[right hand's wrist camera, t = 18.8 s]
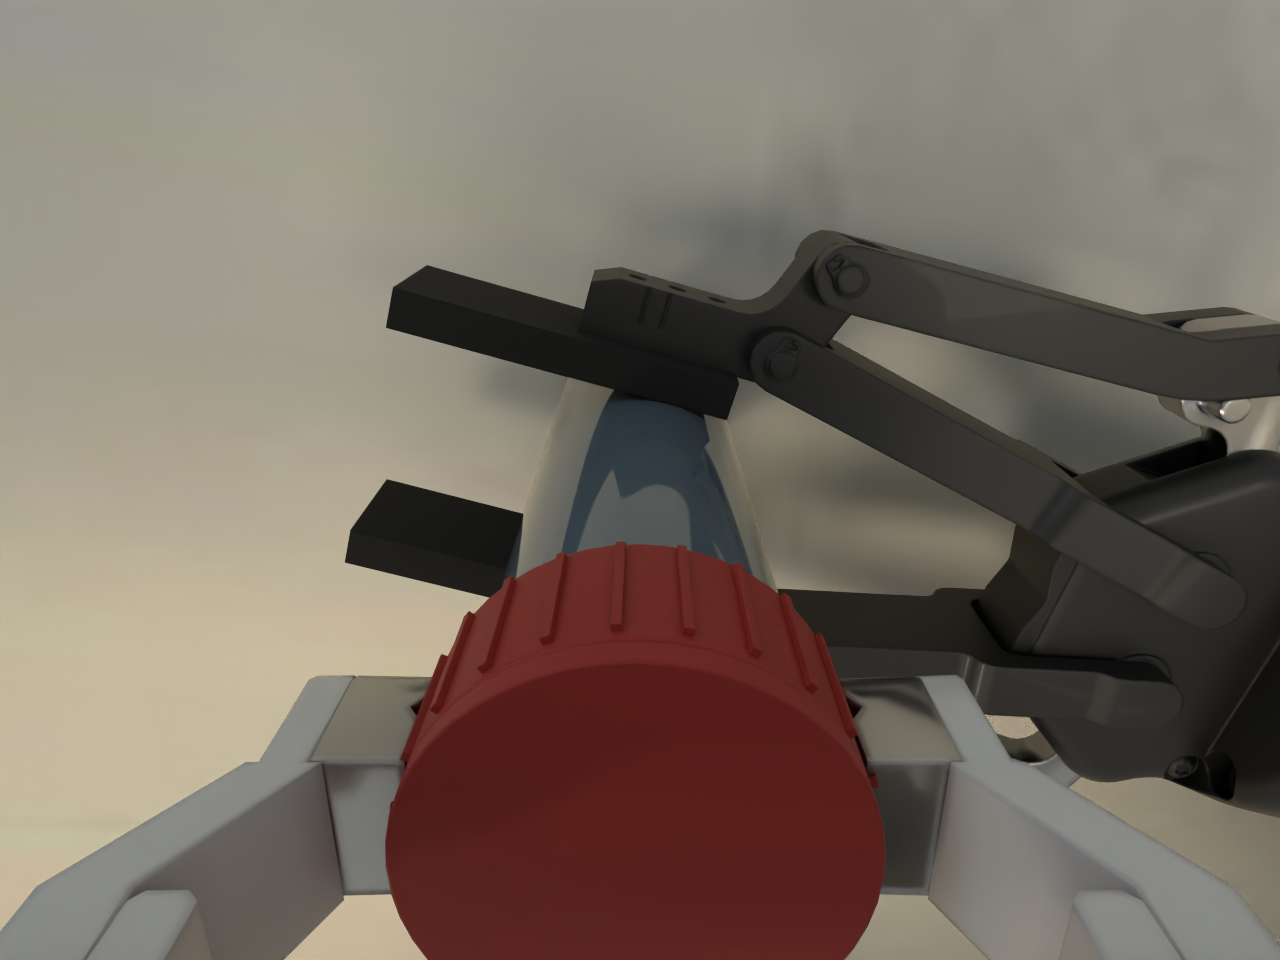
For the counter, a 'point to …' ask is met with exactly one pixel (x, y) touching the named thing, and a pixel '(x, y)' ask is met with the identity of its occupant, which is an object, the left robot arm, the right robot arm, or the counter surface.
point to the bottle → (637, 484)
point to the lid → (635, 774)
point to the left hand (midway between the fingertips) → (388, 412)
